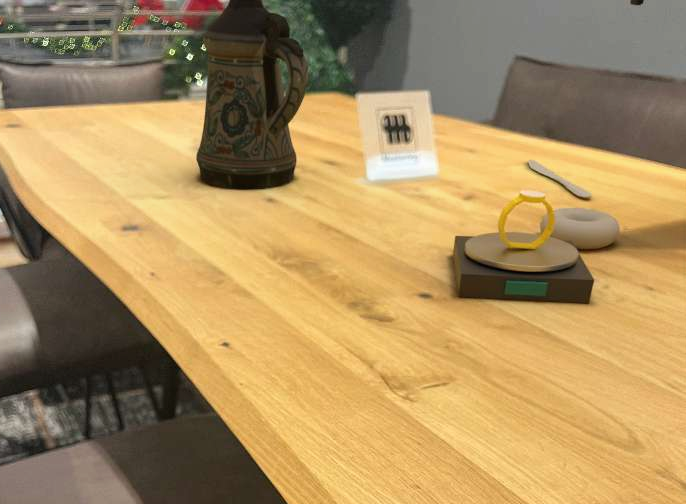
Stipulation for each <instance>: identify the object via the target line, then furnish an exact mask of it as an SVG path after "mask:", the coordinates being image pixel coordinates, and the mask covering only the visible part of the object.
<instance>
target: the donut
mask: <svg viewBox="0 0 686 504" xmlns="http://www.w3.org/2000/svg"><path fill="white" fill-rule="evenodd" d="M553 211H554V215H555V223H554V228H553V231H552V233H551V235H550V236H549V237H552V238H555V239H559V240H570V241H572V242H573V244H574V245H575V247H576V249H577V250H595V249H602V248H604V247H607V246H610V245H611V244H613V243H614V242H615V240H616V239H617V238H618V236H619V235H620V229H621V228H620V224H619V221H618V220H617V219H616V217H614V216H613V215H611V214H609V213H607V212H606V211H605V212H604V211H601V210H597V209H593V208H586V207H562V208H557V209H553ZM547 221H548V213H546V214H545V215H544V216H543V217H542V219H541V221H540V225H539V226H540V227H539V229H540V233H541V234H542V233H543V232H544V230H545V229H546V227H547Z"/></svg>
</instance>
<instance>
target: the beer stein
mask: <svg viewBox="0 0 686 504" xmlns="http://www.w3.org/2000/svg"><path fill="white" fill-rule="evenodd" d="M290 36H291V28H290V24H289V22H288V20H287V19H286V17H285V16H283V15H281V14H279V13H275V12H270V11H268V9H266V7H265V6H264V3H263V0H229V1H228V4H227V6H226V7H225V8H224V10H223V11H222V12H221V13H220V15H219V16H218V17H217V18H216V19H215V20H214V21H212V23H211V24H209V25H208V27H207V28H206V29H205V31H204V32H203V34H202V41H203V45H204V48H205V50H206V52H207V57H208V61H207V63H208V65H207V77H206V78H207V79H206V93H205V97H206V98H205V107H204V119H203V128H202V132H201V133H202V134H201V140H200V143H199V147H198V150H197V152H196V156H195V159H196V162H197V165H198V169H199V174H200V179H201V181H202V182H203V183H205V184H207V185H209V186H213V187H218V188H223V189H230V190H231V189H232V190H233V189H234V190H261V189H269V188H270V189H271V188H275V187H282V186H285V185H287V184H290V183H291V182H292V181H293V180H294V179H295V171H296V167H297V161H298V160H297V159H298V158H297V153H296V151H295V148H294V146H293V142H292V137H291V132H290V127H289V124H290V123H291V121H292V120H293V119H294V117H295V116H296V115H297V113H298V111H299V109H300V107H301V105H302V103H303V100H304V98H305V96H306V92H307V88H308V81H309V65H308V62H307V59H306V56H305V54H304V49H303V47H302V46H301V44H300V43H299V42H298V40H297V39H295V38H294V37H290ZM281 61H283V62H284V64H285V66H286V68H287V75H288V83H287V90H286V93H285V90H284V83H283V82H284V81H283V75H282V74H283V73H282V68H281Z"/></svg>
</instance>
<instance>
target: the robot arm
mask: <svg viewBox="0 0 686 504" xmlns="http://www.w3.org/2000/svg"><path fill="white" fill-rule="evenodd" d="M644 1H645V0H630V5H632V6H641V5H643V4H644Z"/></svg>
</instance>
